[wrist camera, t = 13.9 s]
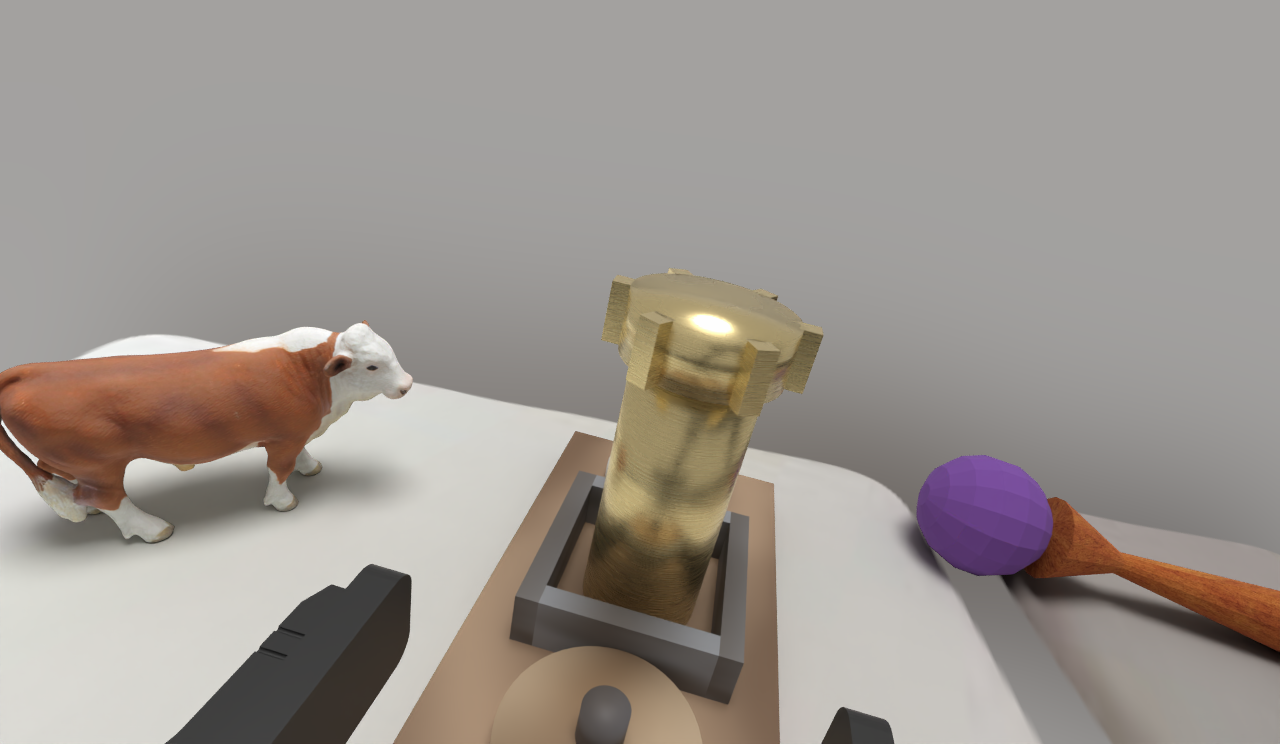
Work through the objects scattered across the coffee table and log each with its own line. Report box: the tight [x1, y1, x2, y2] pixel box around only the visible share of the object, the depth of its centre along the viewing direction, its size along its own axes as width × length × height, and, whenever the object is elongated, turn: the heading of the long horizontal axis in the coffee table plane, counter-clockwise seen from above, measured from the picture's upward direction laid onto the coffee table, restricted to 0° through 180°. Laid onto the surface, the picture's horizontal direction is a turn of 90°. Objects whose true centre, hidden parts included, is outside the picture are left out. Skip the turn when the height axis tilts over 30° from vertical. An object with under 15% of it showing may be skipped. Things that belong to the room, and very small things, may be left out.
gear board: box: [393, 431, 780, 744], centre depth 24 cm, size 11×20×4 cm, turn 169°
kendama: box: [917, 455, 1280, 652], centre depth 30 cm, size 6×6×20 cm
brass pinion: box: [583, 268, 823, 626], centre depth 21 cm, size 6×6×12 cm
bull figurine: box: [0, 320, 413, 542], centre depth 24 cm, size 4×13×8 cm, turn 120°
